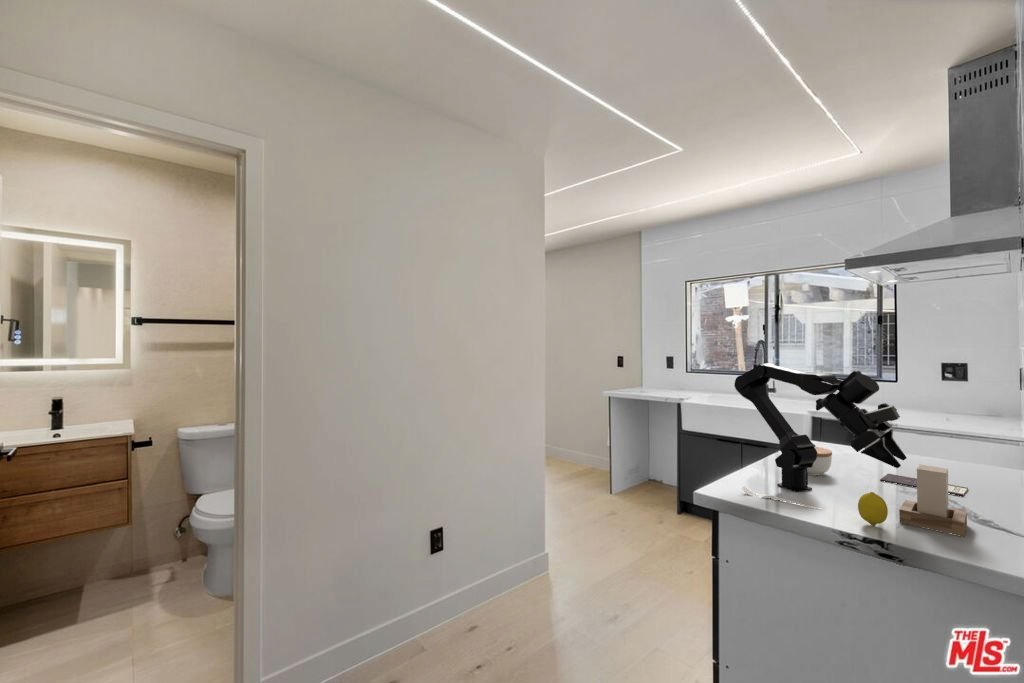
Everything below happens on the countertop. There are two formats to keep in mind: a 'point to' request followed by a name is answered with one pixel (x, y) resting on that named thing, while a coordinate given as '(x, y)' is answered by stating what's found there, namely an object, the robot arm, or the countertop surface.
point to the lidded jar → (821, 462)
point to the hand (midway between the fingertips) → (902, 463)
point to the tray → (934, 519)
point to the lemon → (872, 508)
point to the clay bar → (932, 490)
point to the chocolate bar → (913, 482)
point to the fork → (772, 497)
